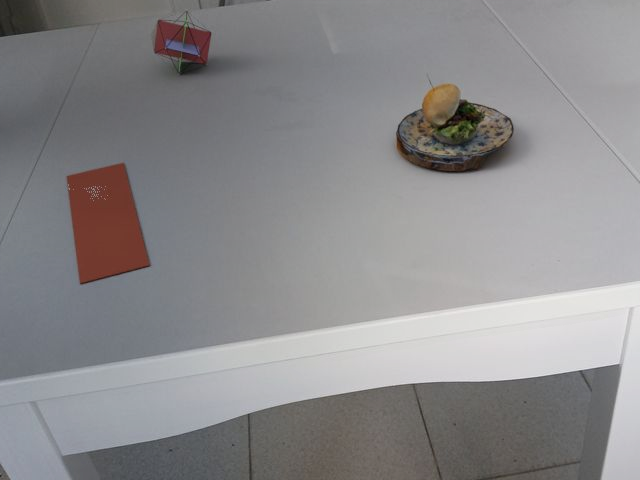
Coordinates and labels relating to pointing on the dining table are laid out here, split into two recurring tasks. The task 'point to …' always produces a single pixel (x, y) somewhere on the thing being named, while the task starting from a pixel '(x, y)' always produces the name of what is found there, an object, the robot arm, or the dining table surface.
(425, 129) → the burger
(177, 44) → the geometric puzzle
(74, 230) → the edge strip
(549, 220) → the dining table surface
